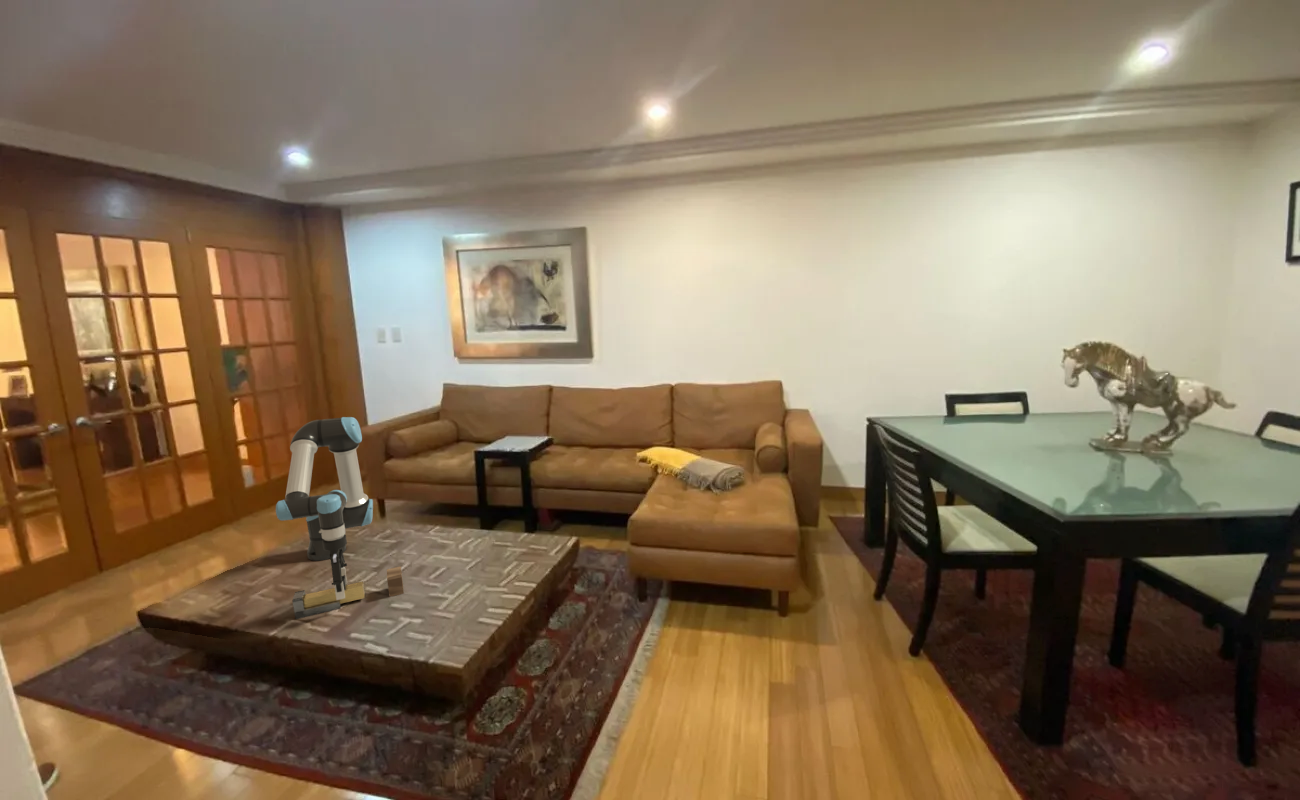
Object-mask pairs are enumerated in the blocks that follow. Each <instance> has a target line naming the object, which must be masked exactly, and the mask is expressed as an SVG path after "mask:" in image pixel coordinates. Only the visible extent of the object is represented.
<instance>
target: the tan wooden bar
mask: <svg viewBox="0 0 1300 800" xmlns="http://www.w3.org/2000/svg"><path fill="white" fill-rule="evenodd" d="M346 577H347V576H346ZM346 577H345V575H344V576H342V581H343V586H344V593H345V598H344V599H340V600H336V593H335V587H332V588H328V589H323V590H320V591H315V592H311V593H310V592H309V593H305V595H304V597H303V602H304V608H305V609H308V608H312V607H316V606H320V605H324V604H329V603H333V602H337V601H340V604H341V605H342V604H344V603H349V602H352V601H357V600H362V599H365V594H366V593H365V585H364V581H359V582H354V583H350V584H348V583H347V584H346Z"/></svg>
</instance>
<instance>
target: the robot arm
mask: <svg viewBox="0 0 1300 800" xmlns="http://www.w3.org/2000/svg"><path fill="white" fill-rule="evenodd" d="M362 440H363V435H362V430H361V425H360V423H359V421H358V420H357V419H356V418H355V417H352V416H347V417H346V416H342V417H336V418H323V419H315V420H311V421H309V422H307V423H305V424H304V425H302V427H300V428H299V429H298V430H297V431H296V432H295V434H294V435H293V436H292V438H291V441H290V444H289V445H290V446H289V449H290V450H289V451H290V452H291V459H290V464H289V465H290V466H289V471H288V477H287V484H286V489H285V490H286V491H285V497H284V499H282V500H278V501H277V503H276V504H275V514H276V517H277V520H279V521H291V520H292V521H294V520H298V519H304V518H306V519H305V521H306V525H307V531H308V537H309V542H308V543H309V544H308V547H307V553H306V555H307V559H308V560H310V561H325V560H329V559H330V565H331V566H330V567H331V573H332V582H331V585H332V586H333V588H335V593H336V600H340V599H344V598H345V593H344V586H343V581H342V576H344V575H345V577H346V584H347V585H348V579H347V578H348V577H347V571H346V567H347V566H348V563H346V561H345V556H344V553H345V552H346V550H347V544H348V541H347V536H346V529H351V528H359V527H364V526H367V525H371V523H372V522H373V516H374V513H373V512H374V511H373V510H374V499H373V498H369V496H368V495H367V494H366V493H364V488H363V482H362V481H363V480H362V476H361V471H360V465H359V460H358V459H359V458H358V454H357V449H358V448H359V447H360V443H362ZM320 447H321V448H323V447H324V448H325V447H328V451H329V452H331V453H333V456H334V461H335V467H336V473H337V477H338V482H339V488H340V489H333V490H331V491H329V492H328V493H325V494H318V495H312V496H310V491H311V484H312V483H311V482H312V475H313V474H312V473H313V467H314V459H315V458H314V457H315V454H316V453H317V451H318V448H320Z"/></svg>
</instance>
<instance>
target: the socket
mask: <svg viewBox="0 0 1300 800" xmlns="http://www.w3.org/2000/svg"><path fill="white" fill-rule="evenodd" d="M386 581H387V582H386V583H387V589H388V597H389V598H391V597H395V596H399V595H404V594H405V592H404V591H405V590H404V579H403V572H402V566H401V565H400V566H396V567H392V568H388V569H386Z"/></svg>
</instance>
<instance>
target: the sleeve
mask: <svg viewBox="0 0 1300 800" xmlns="http://www.w3.org/2000/svg"><path fill="white" fill-rule="evenodd" d="M305 594H306V590H305V589H304V590H297V591H294V595H293V598H292V601H291V602H292V606H293V612H294V618H295V620H298V619H301V618H307V617H311V616H314V615H319V614H323V613H328V612H332V611H335V610H340V609H341V606H342V603H341V604H340V601H337V602H333V603H329V604H324V605H320V606H316V607H312V608H308V609H305V608H304V602H303V597H304V595H305Z"/></svg>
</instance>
